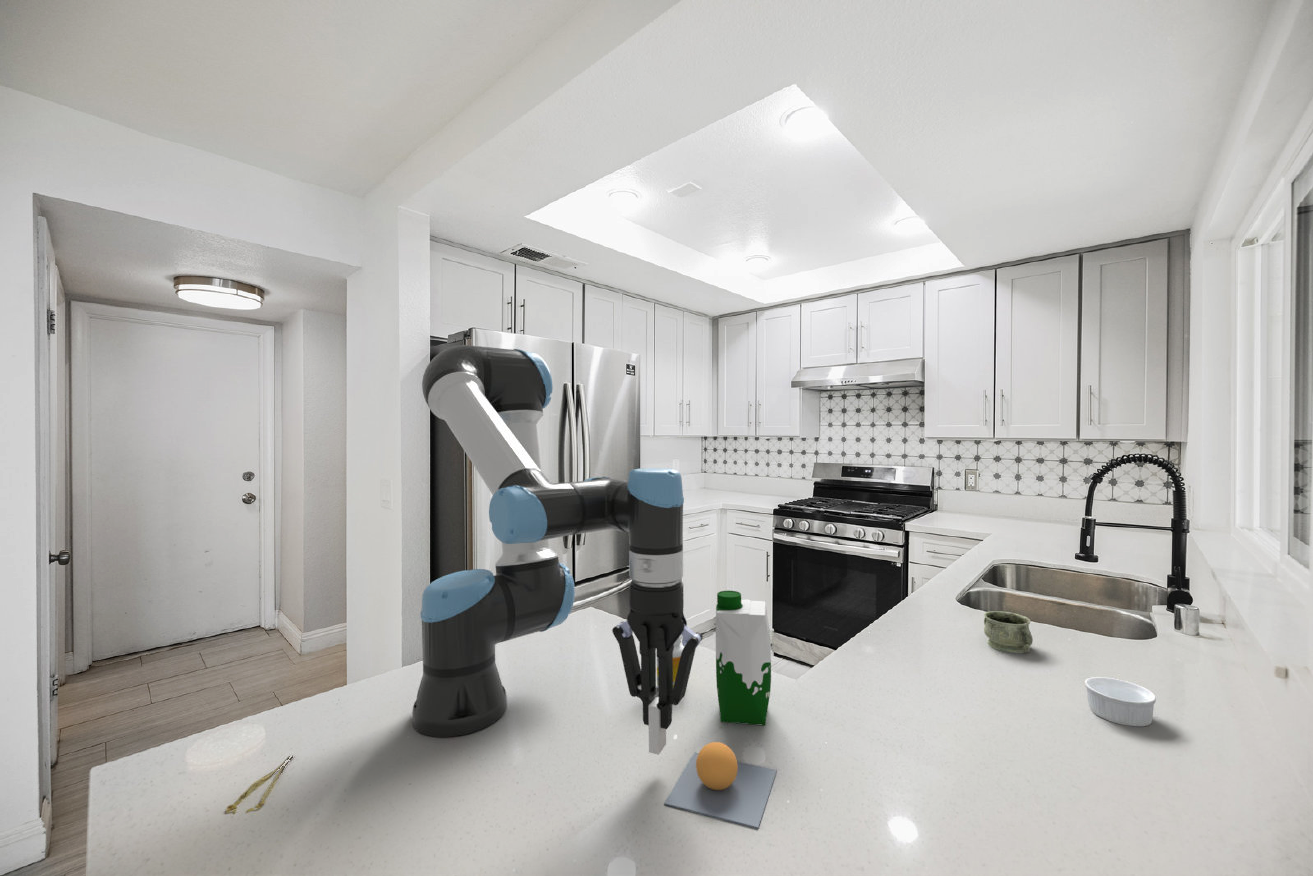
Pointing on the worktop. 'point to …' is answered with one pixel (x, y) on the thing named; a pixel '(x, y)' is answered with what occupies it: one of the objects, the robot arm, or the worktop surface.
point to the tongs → (255, 786)
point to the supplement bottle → (674, 658)
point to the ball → (716, 766)
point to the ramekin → (1120, 701)
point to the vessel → (1007, 631)
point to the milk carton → (742, 659)
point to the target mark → (725, 794)
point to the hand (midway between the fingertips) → (657, 748)
